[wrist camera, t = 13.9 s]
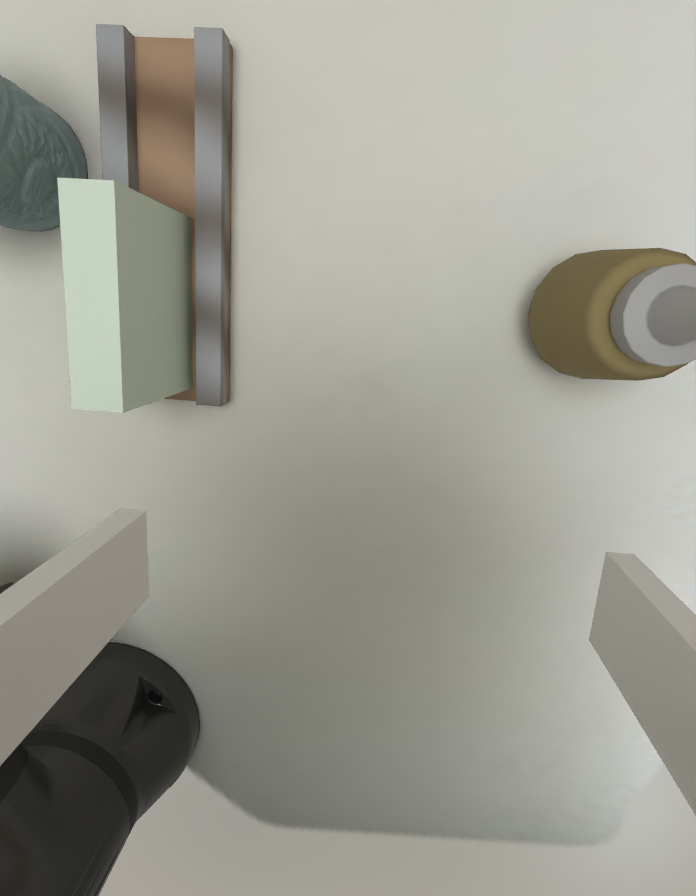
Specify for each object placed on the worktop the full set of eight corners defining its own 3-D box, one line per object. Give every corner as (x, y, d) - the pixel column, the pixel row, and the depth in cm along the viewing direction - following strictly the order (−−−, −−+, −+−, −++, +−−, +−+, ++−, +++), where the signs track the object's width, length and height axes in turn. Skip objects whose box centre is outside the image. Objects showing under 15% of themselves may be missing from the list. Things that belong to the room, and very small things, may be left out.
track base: (230, 401, 42) (220, 406, 40) (128, 393, 43) (112, 398, 40) (233, 47, 36) (222, 28, 34) (115, 43, 37) (95, 24, 34)
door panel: (193, 387, 41) (123, 412, 30) (150, 384, 41) (66, 408, 31) (191, 218, 38) (113, 180, 27) (146, 215, 38) (51, 177, 28)
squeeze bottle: (501, 281, 38) (592, 252, 21) (617, 238, 37) (815, 170, 20) (533, 388, 40) (641, 444, 23) (644, 350, 39) (850, 378, 21)
